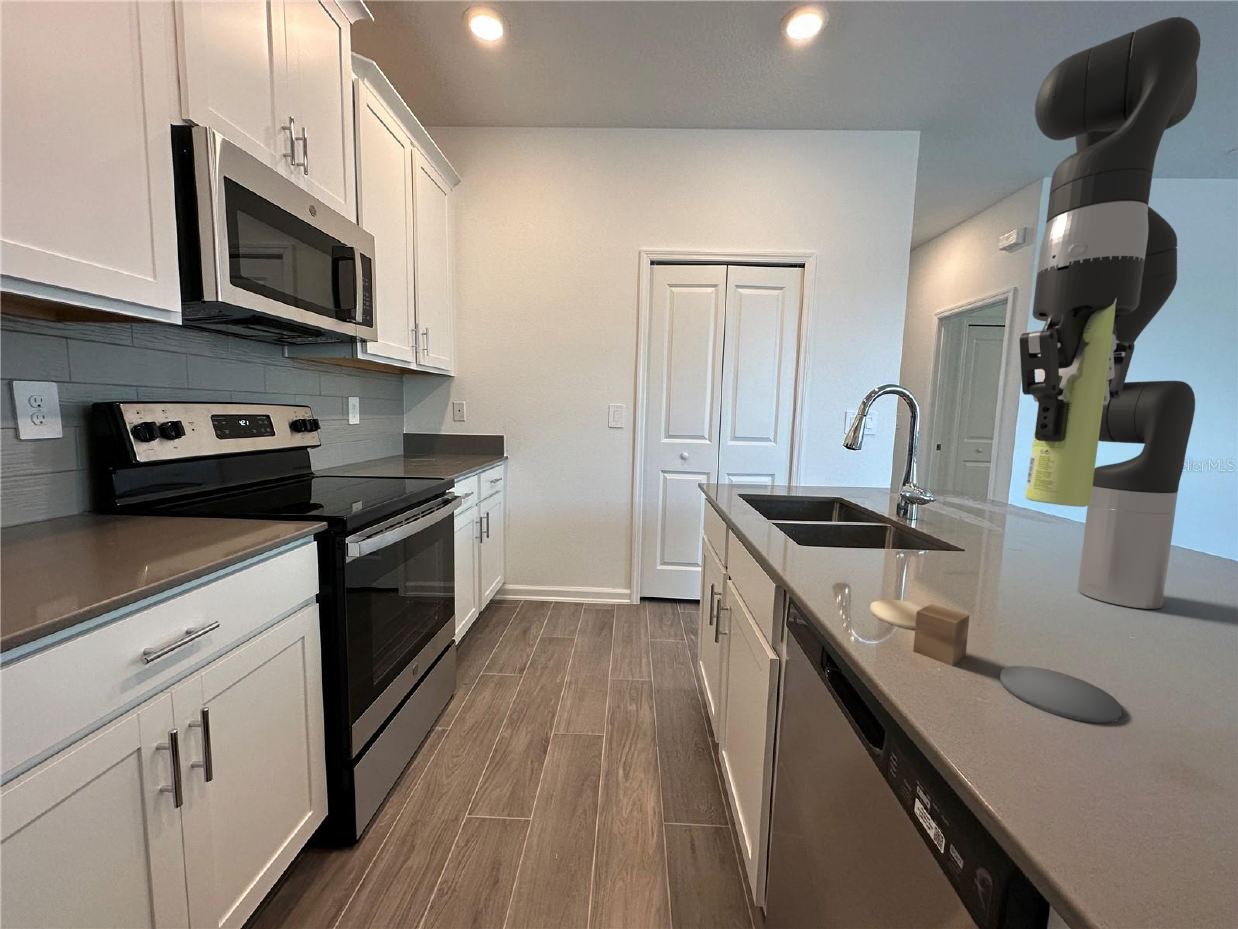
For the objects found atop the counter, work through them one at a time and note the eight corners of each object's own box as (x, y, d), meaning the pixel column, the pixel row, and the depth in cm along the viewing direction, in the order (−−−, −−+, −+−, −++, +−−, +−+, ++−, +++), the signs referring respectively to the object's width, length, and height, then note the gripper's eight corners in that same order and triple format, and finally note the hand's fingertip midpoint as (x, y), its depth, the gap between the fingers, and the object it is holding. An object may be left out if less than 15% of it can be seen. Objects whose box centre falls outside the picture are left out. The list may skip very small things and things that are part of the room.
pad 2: (1033, 665, 55) (1033, 660, 55) (1141, 711, 46) (1142, 705, 46) (979, 679, 51) (980, 674, 51) (1086, 732, 43) (1087, 725, 43)
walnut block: (927, 642, 60) (931, 603, 59) (965, 656, 57) (969, 614, 56) (913, 651, 57) (916, 611, 57) (951, 666, 54) (955, 623, 54)
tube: (1105, 506, 48) (1132, 304, 46) (1088, 510, 45) (1116, 295, 44) (1034, 497, 53) (1055, 313, 51) (1015, 500, 50) (1037, 306, 48)
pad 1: (901, 600, 73) (901, 596, 73) (961, 624, 65) (961, 620, 65) (855, 608, 70) (856, 604, 70) (913, 635, 62) (913, 630, 62)
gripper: (1085, 284, 53) (1065, 441, 55) (996, 265, 48) (978, 438, 50) (1183, 265, 46) (1158, 445, 47) (1091, 240, 41) (1066, 442, 43)
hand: (1066, 440), depth 49 cm, fingers closed on tube, 4 cm apart
